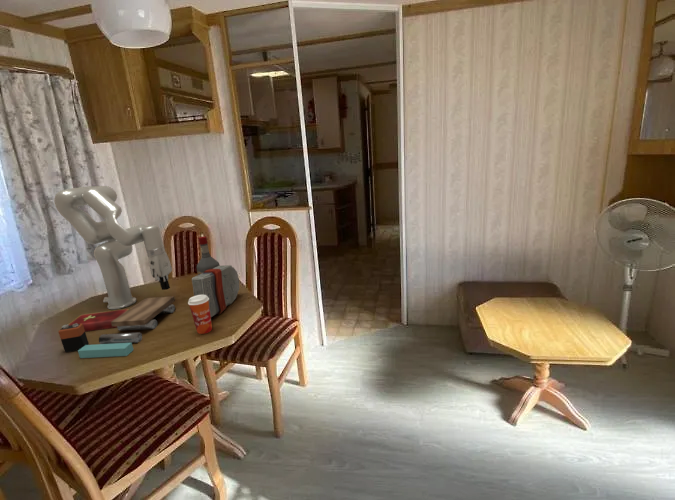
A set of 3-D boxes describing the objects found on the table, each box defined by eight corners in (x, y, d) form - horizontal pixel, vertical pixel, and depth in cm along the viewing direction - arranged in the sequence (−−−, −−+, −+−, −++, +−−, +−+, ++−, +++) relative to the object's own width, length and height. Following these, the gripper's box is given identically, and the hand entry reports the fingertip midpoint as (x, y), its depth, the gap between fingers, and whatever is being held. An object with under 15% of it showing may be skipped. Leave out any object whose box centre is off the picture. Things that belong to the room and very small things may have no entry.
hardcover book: (120, 328, 155) (117, 319, 154) (67, 335, 153) (64, 326, 152) (131, 316, 166) (129, 307, 165) (83, 322, 164) (80, 314, 163)
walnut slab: (112, 326, 146) (110, 322, 146) (146, 302, 169) (145, 298, 169) (145, 324, 145) (143, 320, 144) (175, 300, 168) (174, 296, 167)
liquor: (218, 291, 186) (206, 234, 178) (227, 295, 179) (215, 236, 171) (201, 297, 179) (188, 238, 171) (209, 301, 173) (197, 240, 165)
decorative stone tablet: (203, 276, 145) (238, 260, 174) (188, 277, 146) (226, 260, 175) (209, 322, 148) (243, 299, 177) (195, 322, 150) (231, 299, 178)
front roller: (118, 332, 150) (116, 324, 149) (124, 327, 154) (122, 319, 153) (153, 330, 149) (150, 322, 148) (158, 325, 153) (155, 317, 151)
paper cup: (195, 337, 139) (188, 303, 135) (193, 329, 145) (186, 297, 142) (216, 331, 142) (210, 298, 138) (213, 324, 149) (207, 292, 145)
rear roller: (138, 314, 164) (139, 305, 165) (143, 315, 167) (144, 306, 168) (170, 312, 162) (170, 303, 163) (174, 313, 166) (175, 304, 167)
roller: (142, 339, 142) (140, 330, 141) (136, 344, 138) (134, 335, 138) (106, 341, 143) (104, 332, 143) (100, 346, 140) (97, 337, 139)
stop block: (80, 358, 132) (77, 350, 131) (88, 352, 136) (85, 345, 135) (126, 355, 130) (124, 348, 129) (133, 349, 134) (131, 342, 133)
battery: (70, 347, 141) (62, 324, 138) (89, 344, 142) (82, 320, 139) (64, 353, 137) (56, 329, 134) (84, 349, 138) (77, 325, 135)
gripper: (154, 255, 160) (165, 294, 165) (172, 246, 174) (181, 282, 179) (138, 257, 161) (149, 295, 165) (157, 248, 175) (166, 284, 180)
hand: (165, 288), depth 172 cm, fingers closed
